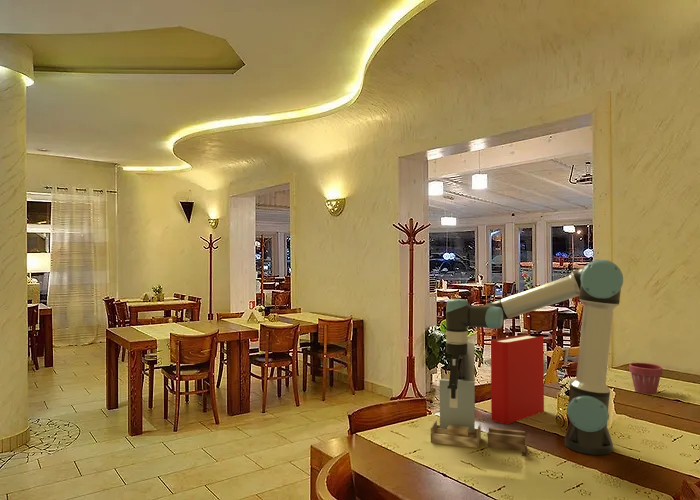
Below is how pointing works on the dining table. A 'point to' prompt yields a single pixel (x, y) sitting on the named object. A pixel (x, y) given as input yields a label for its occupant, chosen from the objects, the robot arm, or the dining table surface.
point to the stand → (507, 439)
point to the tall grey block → (469, 364)
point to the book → (516, 378)
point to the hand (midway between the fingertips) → (456, 402)
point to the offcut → (458, 430)
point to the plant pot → (645, 377)
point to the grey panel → (465, 405)
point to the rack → (454, 437)
